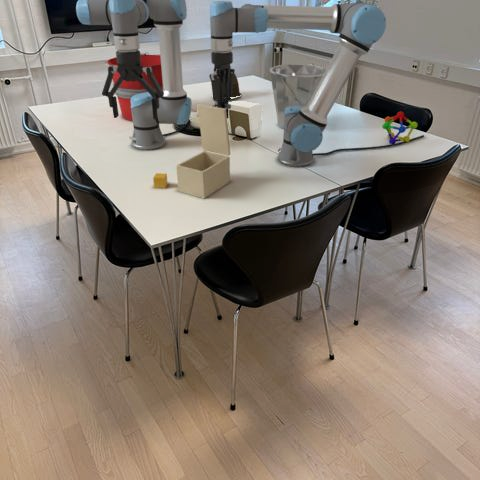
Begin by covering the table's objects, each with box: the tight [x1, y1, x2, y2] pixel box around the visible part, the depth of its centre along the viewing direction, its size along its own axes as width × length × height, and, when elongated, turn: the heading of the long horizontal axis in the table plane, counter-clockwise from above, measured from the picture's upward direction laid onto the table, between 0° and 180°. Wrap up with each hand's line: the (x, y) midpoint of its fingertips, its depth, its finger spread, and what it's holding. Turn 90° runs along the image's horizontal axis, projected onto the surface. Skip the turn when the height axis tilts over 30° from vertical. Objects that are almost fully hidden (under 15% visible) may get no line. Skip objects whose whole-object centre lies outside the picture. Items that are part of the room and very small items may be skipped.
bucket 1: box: [103, 52, 163, 122], centre depth 240 cm, size 35×35×30 cm
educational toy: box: [382, 110, 418, 145], centre depth 207 cm, size 16×13×15 cm
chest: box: [176, 150, 231, 199], centre depth 166 cm, size 17×12×10 cm
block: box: [152, 172, 169, 189], centre depth 168 cm, size 4×4×4 cm
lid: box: [196, 101, 232, 157], centre depth 166 cm, size 18×12×9 cm
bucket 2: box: [269, 63, 327, 129], centre depth 226 cm, size 30×30×28 cm
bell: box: [232, 72, 242, 97], centre depth 278 cm, size 19×26×20 cm
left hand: (135, 117), depth 150 cm, fingers open, 13 cm apart
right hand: (223, 118), depth 166 cm, fingers closed on lid, 2 cm apart
